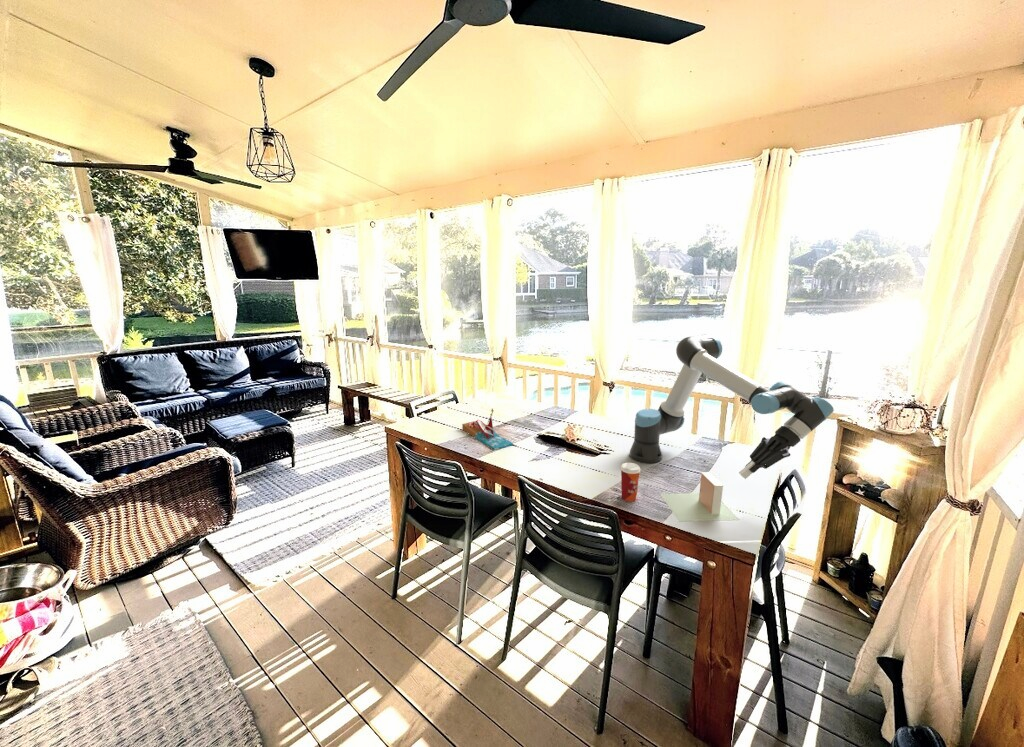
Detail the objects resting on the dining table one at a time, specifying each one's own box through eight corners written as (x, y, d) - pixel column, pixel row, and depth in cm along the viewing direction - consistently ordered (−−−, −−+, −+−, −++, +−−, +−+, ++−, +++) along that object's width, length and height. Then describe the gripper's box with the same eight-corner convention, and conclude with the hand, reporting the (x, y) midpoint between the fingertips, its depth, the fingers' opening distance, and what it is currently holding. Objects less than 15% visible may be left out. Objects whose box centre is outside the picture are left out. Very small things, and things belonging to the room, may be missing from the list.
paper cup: (633, 505, 155) (635, 472, 152) (615, 498, 160) (617, 466, 157) (642, 497, 161) (644, 465, 158) (624, 491, 166) (626, 460, 163)
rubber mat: (659, 495, 162) (659, 493, 162) (712, 494, 163) (712, 492, 163) (679, 522, 144) (679, 521, 144) (739, 521, 144) (739, 519, 144)
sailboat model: (494, 451, 208) (494, 420, 205) (462, 431, 239) (461, 403, 235) (513, 446, 215) (513, 416, 212) (479, 427, 245) (479, 400, 242)
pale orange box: (698, 500, 157) (700, 472, 155) (706, 500, 157) (709, 472, 155) (711, 514, 147) (714, 485, 145) (719, 514, 148) (723, 485, 145)
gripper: (811, 446, 139) (759, 491, 143) (785, 432, 152) (738, 474, 155) (798, 432, 138) (746, 477, 141) (773, 419, 151) (726, 461, 154)
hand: (742, 475), depth 148 cm, fingers closed
